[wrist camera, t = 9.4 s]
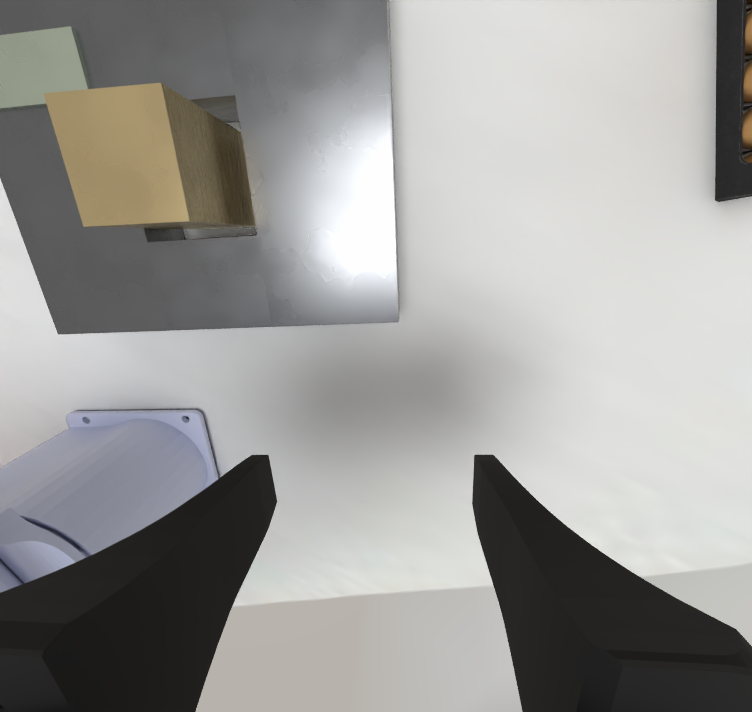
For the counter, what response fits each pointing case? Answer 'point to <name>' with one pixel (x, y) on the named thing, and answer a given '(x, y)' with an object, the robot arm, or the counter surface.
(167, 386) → the counter surface
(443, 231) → the counter surface
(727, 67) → the ammunition clip
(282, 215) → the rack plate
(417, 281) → the counter surface
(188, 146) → the brass peg
